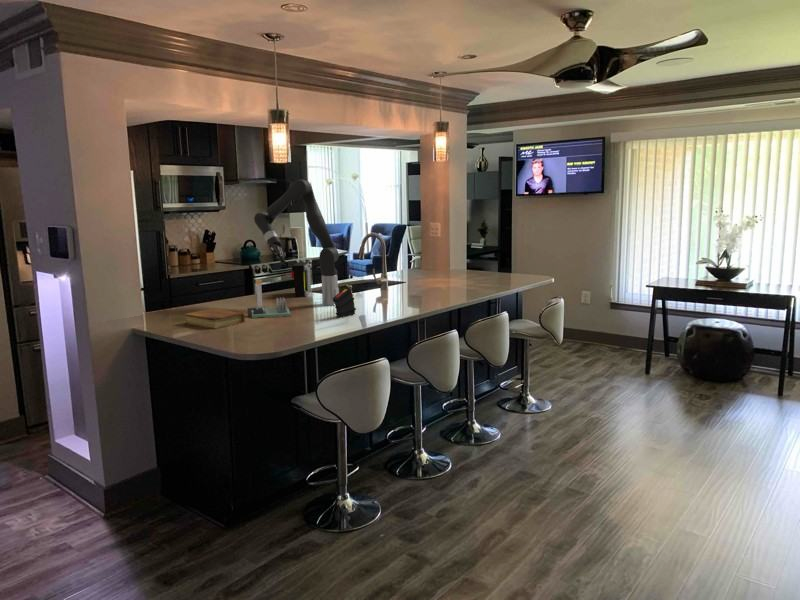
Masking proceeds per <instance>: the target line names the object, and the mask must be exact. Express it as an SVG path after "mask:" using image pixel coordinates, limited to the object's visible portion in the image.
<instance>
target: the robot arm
mask: <svg viewBox="0 0 800 600" xmlns="http://www.w3.org/2000/svg"><path fill="white" fill-rule="evenodd" d="M299 197H301V199H302V201H303V203H304V206H305V216H306V217H305V218H306V222H307V223H308V225H309V226H308V227H309V228H310V231H311V232H312V234H313V235H315V237H316V239H318V242H319V243H320V245H321V247H322V249H321V250H320V252H319V256H318V257H319V269H320V272H321V298H322V300H321V303H322V305H324V306H335V305H334V304H335V302H333V297H335V296H336V295H337V294H338V293H340V287H339V286H338V285H339V284H338V283H339V282H338V270H337V268H336V265H335V263H336V262H337V261H338V260H339V257H340V254H339V250H338V248H337V247H336V245H335V243H334V241H333V239H332V236H331V234H330V232H329V229H328V226H327V225H326V221H325V218H324V217H323V214H322V211H321V209H320V207H319V205H318V202H317V200H316V196H315V194H314V190H313V187H312V184H311V182H310V181H308V180H306V179H297V180H295V181H294V182H293V183H292V184H291V185H290V187H289V188H287V190H286V191H285V192H284V193H283V195H281V196H280V197H279V198H277V200H275V201H274V202H273V203H272V204H271V205H270V206H269V205H268V207H267V209H266V213H267V214H265V213H263V212H257V213H255V214H254V217H253V219H254V223H255V225H256V226H257V228H258V229H259V230H260V231H261V234H263V237H264V240H265V242H266V244H267V246H268V248H269V250H270V252H271V253H273V255H274V256H275V257H276V258H277V259H279V262H280V264H282V265H284V264H285V263H286V260H285V258H286V255H287V253H286V252H285V251H284V252H283V248H282V241H281V240H280V237H279V235H278V234H277V232H276V231H275V228H274V227H273V225H272V224H273V223H274V220H276V218H277V217H278V216H279V215H280V214H281V213H283V212H284V211H285V210H286V209H287V207H288V206H289V205H290V203H292V202H293V201H294V200H295V199H297V198H299Z"/></svg>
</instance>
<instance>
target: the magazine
mask: <svg viewBox="0 0 800 600" xmlns="http://www.w3.org/2000/svg"><path fill="white" fill-rule="evenodd" d="M352 291H353V290H352V289H351V288H350V287H349V286H348V287H345V288H343V289H342V290H341V291H339V293H338V294H337V295H336V296H335V297H333V302H335V305H334V308H335V310H336V312H335V315H336V317H337V318H340V317H342V318H344V317H343V316H346V317H349V316H348V315H351V316H354V315H353V314H355V315H356V310H357V308H356V306H355V301H354V300H355V297H354V296H353V293H352Z"/></svg>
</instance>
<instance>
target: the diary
mask: <svg viewBox="0 0 800 600" xmlns="http://www.w3.org/2000/svg"><path fill="white" fill-rule="evenodd" d="M245 315H246V314H245V313H244V312H241V311H233V310H228V309H227V310H226V309H219V308H213V307H212V308H208V309H204V310H198V311H192V312H187V313H184V316H185V317H186V322H185V323H184V324H185V325H188V326H189V325H190V326H195V327H200V328H206V329H213V330H219V329H223V328H226V327H227V326H228V327H232V326H236V325H239V323H240V324H244V323H245V322H246V316H245ZM243 322H244V323H243ZM235 324H236V325H235ZM231 325H232V326H231Z"/></svg>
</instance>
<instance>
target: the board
mask: <svg viewBox="0 0 800 600" xmlns="http://www.w3.org/2000/svg"><path fill="white" fill-rule="evenodd" d="M262 308H264V306H262ZM265 309H266V314H265V311H264V313H263V314H254V313H253V310H252V311H251V319H258V318H257V317H269V318H279V317H278V316H287V317H291V316H292V314H291V313H292V312H290V309H289V307H288V306H287V305H286V309H287V312H283V313H278V312H277V309H276V306H269V307H268V306H267V307H266V306H265Z"/></svg>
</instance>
